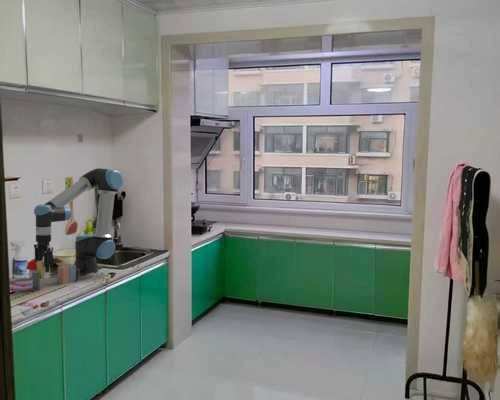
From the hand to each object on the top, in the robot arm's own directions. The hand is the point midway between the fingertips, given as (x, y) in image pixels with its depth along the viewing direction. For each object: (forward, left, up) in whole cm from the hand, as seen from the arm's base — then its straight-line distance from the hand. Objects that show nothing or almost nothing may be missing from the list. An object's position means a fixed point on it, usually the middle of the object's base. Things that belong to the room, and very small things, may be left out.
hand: (43, 277), depth 251 cm
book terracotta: (-12, 0, -6) cm, 14 cm away
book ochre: (0, 0, 0) cm, 0 cm away
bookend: (+6, 0, -6) cm, 8 cm away
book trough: (-7, 0, -7) cm, 10 cm away
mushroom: (-11, -22, -7) cm, 25 cm away
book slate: (-17, 0, -6) cm, 18 cm away
